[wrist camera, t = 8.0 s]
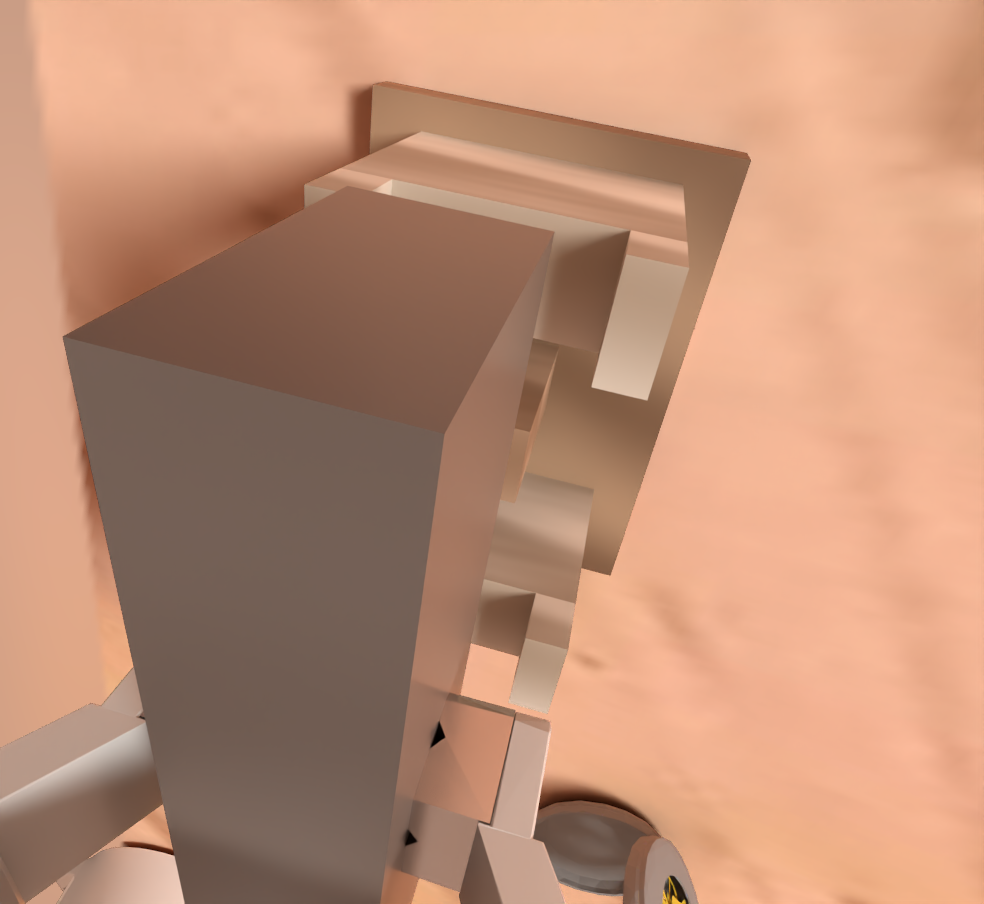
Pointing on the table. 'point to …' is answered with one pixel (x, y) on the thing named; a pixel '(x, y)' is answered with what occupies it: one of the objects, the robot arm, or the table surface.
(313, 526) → the long grey beam
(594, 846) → the pocket watch
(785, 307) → the table surface
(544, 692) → the display stand
